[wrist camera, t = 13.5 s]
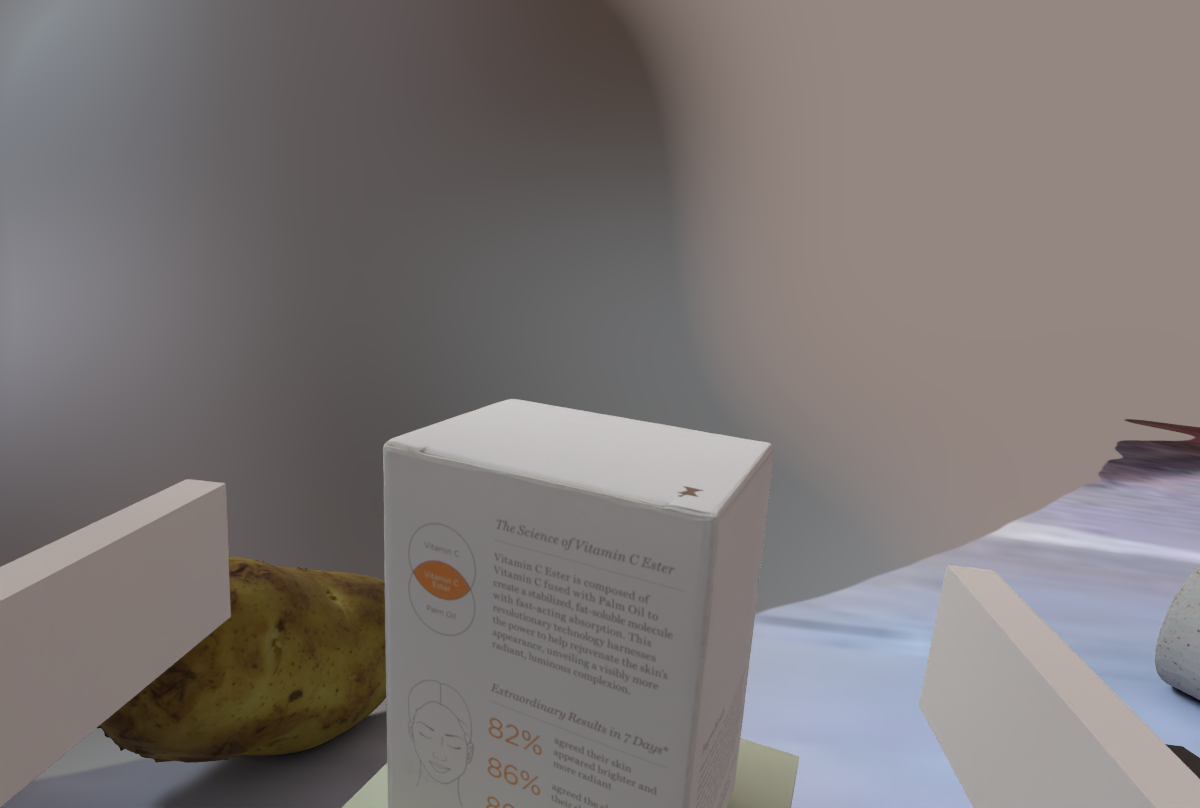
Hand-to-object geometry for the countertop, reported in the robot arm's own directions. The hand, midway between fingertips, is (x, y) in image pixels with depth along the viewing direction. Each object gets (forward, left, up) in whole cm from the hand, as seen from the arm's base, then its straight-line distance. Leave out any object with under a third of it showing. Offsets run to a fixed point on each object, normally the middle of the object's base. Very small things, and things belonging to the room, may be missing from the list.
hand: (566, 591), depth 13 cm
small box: (-1, +4, -9) cm, 10 cm away
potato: (-16, +8, -14) cm, 23 cm away
